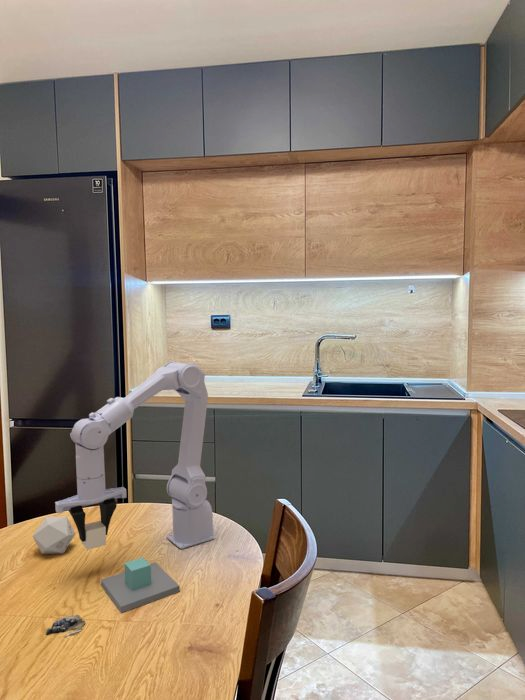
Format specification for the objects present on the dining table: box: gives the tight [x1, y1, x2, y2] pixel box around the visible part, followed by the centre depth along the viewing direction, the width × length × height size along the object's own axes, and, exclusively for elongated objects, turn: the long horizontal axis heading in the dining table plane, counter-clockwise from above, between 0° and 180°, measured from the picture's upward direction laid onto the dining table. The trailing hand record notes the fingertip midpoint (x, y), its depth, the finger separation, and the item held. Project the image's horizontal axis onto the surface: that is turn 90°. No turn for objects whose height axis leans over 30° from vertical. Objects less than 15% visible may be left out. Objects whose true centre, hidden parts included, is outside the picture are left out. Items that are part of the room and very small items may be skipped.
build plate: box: [100, 561, 181, 614], centre depth 100 cm, size 12×12×1 cm
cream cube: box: [81, 520, 107, 551], centre depth 106 cm, size 4×4×4 cm
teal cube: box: [124, 556, 151, 591], centre depth 100 cm, size 4×4×4 cm
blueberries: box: [45, 614, 86, 637], centre depth 87 cm, size 7×8×2 cm
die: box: [32, 516, 76, 555], centre depth 117 cm, size 8×9×10 cm
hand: (93, 536), depth 107 cm, fingers closed on cream cube, 4 cm apart
